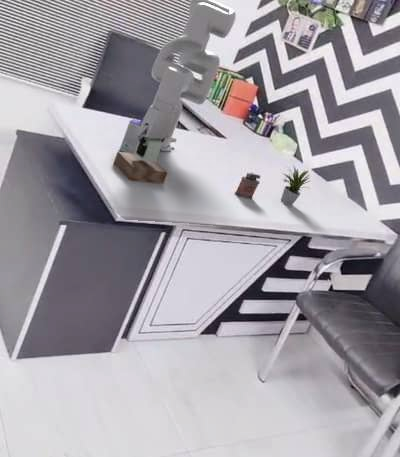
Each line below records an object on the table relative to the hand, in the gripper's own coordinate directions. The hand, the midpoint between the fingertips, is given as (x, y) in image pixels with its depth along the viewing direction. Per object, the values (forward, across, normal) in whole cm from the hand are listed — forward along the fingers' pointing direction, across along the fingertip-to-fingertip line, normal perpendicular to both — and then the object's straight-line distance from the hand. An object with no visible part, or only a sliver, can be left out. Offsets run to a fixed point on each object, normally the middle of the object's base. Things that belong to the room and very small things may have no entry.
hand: (145, 154), depth 179 cm
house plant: (+8, -63, +29) cm, 70 cm away
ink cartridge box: (+8, -11, -14) cm, 19 cm away
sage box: (+1, 0, 0) cm, 1 cm away
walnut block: (+8, 0, 0) cm, 8 cm away
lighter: (+8, -40, +21) cm, 46 cm away
